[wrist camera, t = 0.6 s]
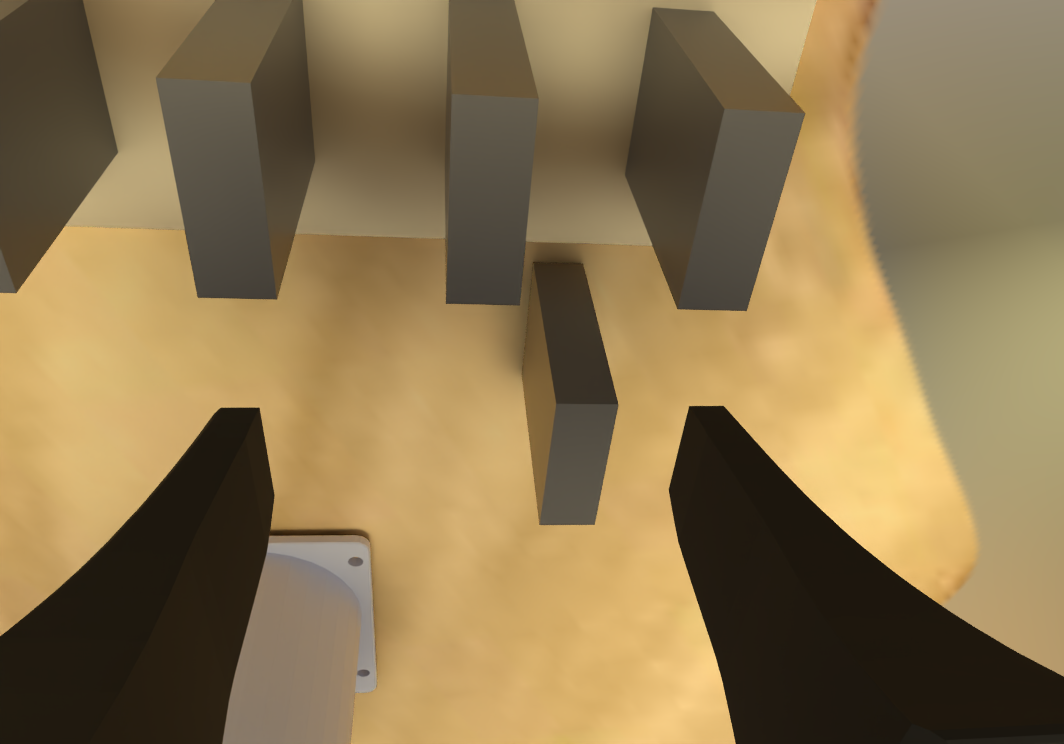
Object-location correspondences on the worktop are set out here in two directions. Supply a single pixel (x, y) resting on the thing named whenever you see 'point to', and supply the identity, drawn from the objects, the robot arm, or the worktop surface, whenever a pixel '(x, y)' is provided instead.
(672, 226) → the domino
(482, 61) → the domino
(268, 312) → the worktop surface
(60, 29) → the domino
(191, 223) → the domino
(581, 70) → the board
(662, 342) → the worktop surface
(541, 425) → the domino
